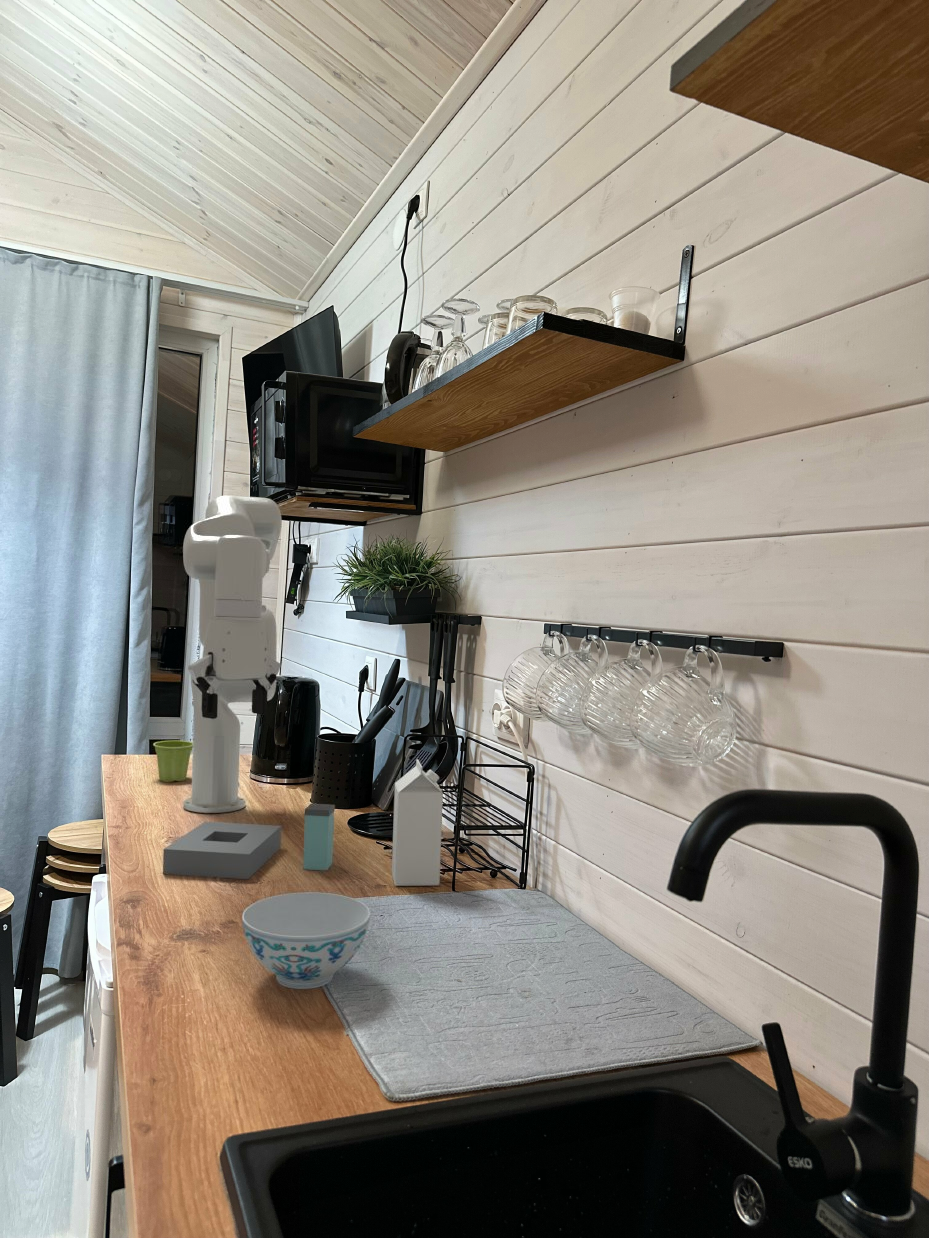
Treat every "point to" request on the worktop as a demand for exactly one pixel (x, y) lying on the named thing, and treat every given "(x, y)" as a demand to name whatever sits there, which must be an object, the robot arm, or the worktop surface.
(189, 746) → the plant pot
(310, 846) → the peg
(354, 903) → the chinaware
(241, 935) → the worktop surface
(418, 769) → the milk carton
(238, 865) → the socket block
